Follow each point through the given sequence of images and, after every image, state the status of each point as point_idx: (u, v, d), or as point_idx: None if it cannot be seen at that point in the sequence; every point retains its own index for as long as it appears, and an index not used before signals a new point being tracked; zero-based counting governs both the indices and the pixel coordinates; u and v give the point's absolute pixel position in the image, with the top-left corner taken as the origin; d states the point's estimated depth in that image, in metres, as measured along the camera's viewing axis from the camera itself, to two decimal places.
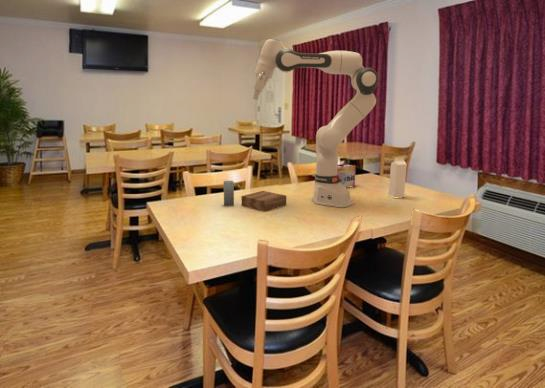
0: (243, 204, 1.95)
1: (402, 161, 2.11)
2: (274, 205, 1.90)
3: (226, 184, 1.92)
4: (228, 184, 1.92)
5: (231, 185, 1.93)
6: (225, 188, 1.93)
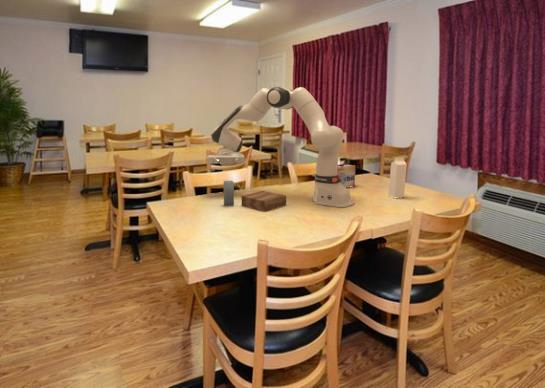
0: (243, 204, 1.95)
1: (402, 161, 2.11)
2: (274, 205, 1.90)
3: (226, 184, 1.92)
4: (228, 184, 1.92)
5: (231, 185, 1.93)
6: (225, 188, 1.93)
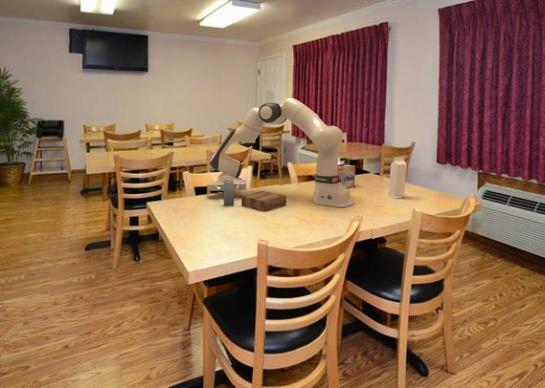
0: (243, 204, 1.95)
1: (402, 161, 2.11)
2: (274, 205, 1.90)
3: (226, 184, 1.92)
4: (228, 184, 1.92)
5: (231, 185, 1.93)
6: (225, 188, 1.93)
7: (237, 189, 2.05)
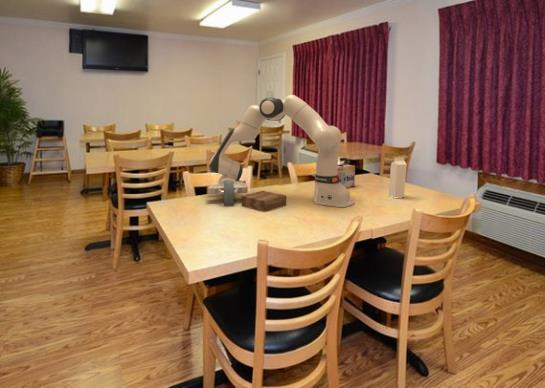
0: (243, 204, 1.95)
1: (402, 161, 2.11)
2: (274, 205, 1.90)
3: (226, 184, 1.92)
4: (228, 184, 1.92)
5: (231, 185, 1.93)
6: (225, 188, 1.93)
7: (235, 193, 1.96)
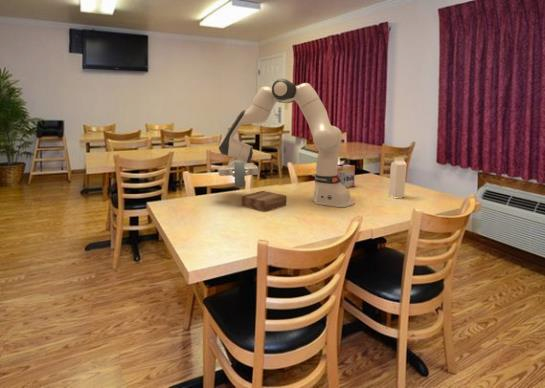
0: (243, 204, 1.95)
1: (402, 161, 2.11)
2: (274, 205, 1.90)
3: (237, 164, 1.90)
4: (239, 164, 1.90)
5: (242, 165, 1.90)
6: (236, 169, 1.91)
7: (246, 174, 1.93)
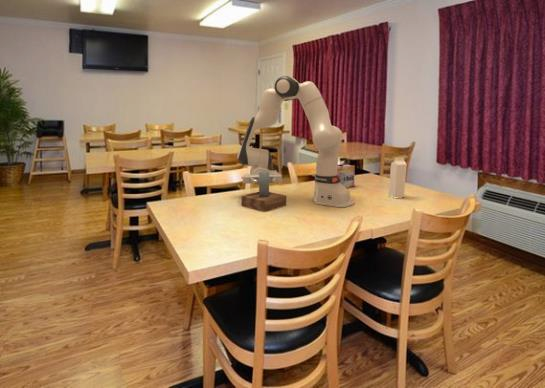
0: (243, 204, 1.95)
1: (402, 161, 2.11)
2: (274, 205, 1.90)
3: (262, 174, 1.91)
4: (264, 174, 1.91)
5: (267, 176, 1.91)
6: (261, 179, 1.92)
7: (273, 182, 1.94)
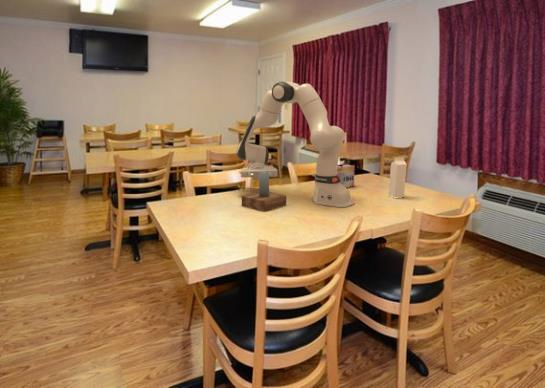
0: (243, 204, 1.95)
1: (402, 161, 2.11)
2: (274, 205, 1.90)
3: (262, 175, 1.91)
4: (264, 175, 1.91)
5: (267, 176, 1.91)
6: (261, 179, 1.91)
7: (270, 176, 2.07)
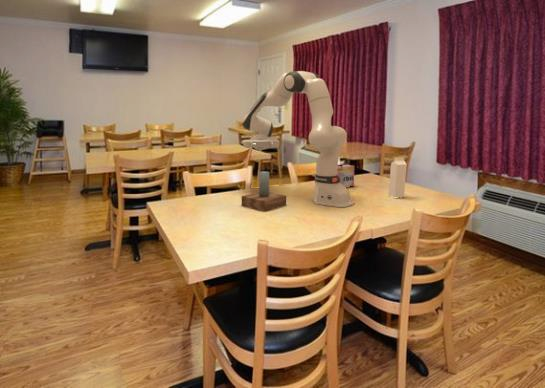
0: (243, 204, 1.95)
1: (402, 161, 2.11)
2: (274, 205, 1.90)
3: (262, 175, 1.91)
4: (264, 175, 1.91)
5: (267, 176, 1.91)
6: (261, 179, 1.91)
7: (271, 145, 2.13)
